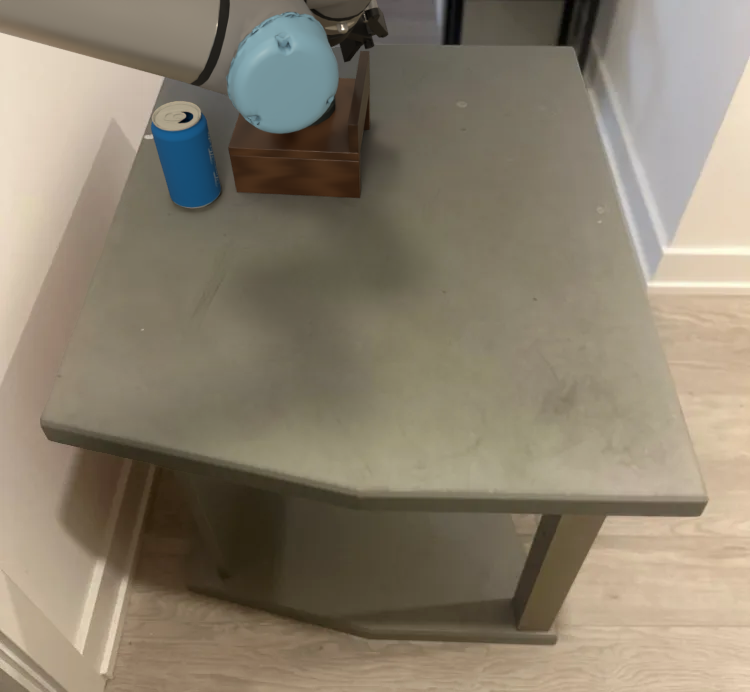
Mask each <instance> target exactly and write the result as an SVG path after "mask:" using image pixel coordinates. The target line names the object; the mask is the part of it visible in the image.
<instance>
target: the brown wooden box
mask: <svg viewBox="0 0 750 692" xmlns="http://www.w3.org/2000/svg"><path fill="white" fill-rule="evenodd" d="M358 56H359V57H358V61H357V62H358V63H357V67H356V68H357V69H356V73H355V78H353V77H352V78H350V77H339V82H338V88H337V91H336V94H335V111H334V112H333V113H332V115H331V116H330V118H328V119H326V120H325V121H323V122H321V123H320V124H317V125H314V126H310V127H306V128H304V129H301V130H299V131H295V132H290V133H282V134H278V133H270V132H265V131H263V130H260V129H258V128H256V127H255V126H254V125H252V124H251V123H249V122H248V121H247V120H246V119H245V118H244V117H243V116H242V115H241V113H240V112H238V116H237V120H236V122H235V125H234V128H233V130H232V131H233V132H232V134H231V138H230V141H229V143H228V146H227V149H228V155H229V160H230V165H231V171H232V175H233V180H234V186H235V190H236V193H244V194H245V193H246V194H268V195H287V196H288V195H289V196H307V197H329V198H346V199H347V198H349V199H361V195H362V194H361V193H362V175H361V174H362V172H361V149H362V143H363V136H364V131H370V129H371V69H370V67H371V66H370V64H371V63H370V61H371V60H370V58H371V57H370V50H360V52H359V55H358Z"/></svg>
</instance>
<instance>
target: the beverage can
mask: <svg viewBox="0 0 750 692" xmlns="http://www.w3.org/2000/svg"><path fill="white" fill-rule="evenodd" d="M150 125H151V126H150V131H151V134H152V138H153V142H154V145H155V148H156V151H157V155H158V159H159V163H160V165H161V169H162V173H163V176H164V180H165V183H166V187H167V190H168V195H169V197H170V199H171V201H172V202H173V203H174V204H176V205H178V206H180V207H183V208H187V209H200V208H204V207H206V206H208V205H210V204H211V203H213V202H214V201H215V200H217V198H218V197H219V196H220V194H221V192H222V186H221V180H220V176H219V171H218V167H217V163H216V158H215V153H214V148H213V144H212V139H211V135H210V130H209V125H208V120H207V117H206V116H205V115H204V113H203V112H202V110H201V108H200V107H199V106H198V105H197V104H195V103H193V102H191V101H187V100H186V101H185V100H184V101H183V100H176V101H171V102H167V103H164V104H162V105H160V106H158V107H157V108H156V109H155V110H154V111H153V113H152V115H151V124H150Z"/></svg>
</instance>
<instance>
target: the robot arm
mask: <svg viewBox="0 0 750 692" xmlns="http://www.w3.org/2000/svg"><path fill="white" fill-rule="evenodd" d="M0 33H1V34H4V35H7V36H11V37H15V38H18V39H22V40H27V41H30V42H34V43H37V44H41V45H44V46H49V47H51V48H56V49H59V50H63V51H67V52H71V53H75V54H78V55H82V56H86V57H89V58H93V59H95V60H96V59H97V60H101V61H104V62H108V63H111V64H115V65H119V66H122V67H126V68H130V69H132V70H133V69H134V70H136V71H141V72H144V73H148V74H152V75H156V76H159V77H162V78H166V79H171V80H175V81H178V82H181V83H185V84H188V85H191V86H195V87H197V88H201V89H204V90H207V91H210V92H214V93H217V94H222V95H225V96H228V99H229V100H230V101H231V103H232V106H233V107H234V108H235V110H236V111H238V113H241V115H242V116H243V117H244V118H245V119H246V120H247V121H248V122H249V123H251V124H252V125H254V126H255V127H256V128H258V129H260V130H263V131H265V132H270V133H278V134H282V133H290V132H295V131H299V130H301V129H304V128H306V127H308V126H309V125H311V124H313V123H314V122H315V121H317V120H318V119H319V118H320V117H321V116H322V115H323V114H324V113H325V112H326V110H327V109H328V108H329V106H330V104H331V102H332V101H333V99H334V95H335V94H336V91H337V88H338V82H339V78H340V73H339V72H340V71H339V64H338V60H337V57H336V55H335V53H334V51H333V49H332V48H333V47H336V46H338V45H339V47H340V51H341V55H342V59H343V62H344V63H347V62H351V61H352V59H353V58H354V56H355V55H356V54H357V53H358V51H359V50H360V49H361V47H362V46H363V47H364V50H369V49H372V48H374V47H375V42H374V39H373V36H377V38H379V39H380V38H381V39H384V38H387V37H388V36H389V30H388V27H387V23H386V19H385V15H384V11H382V9H381V8H380V7H379V4H378V1H377V0H0Z"/></svg>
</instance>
